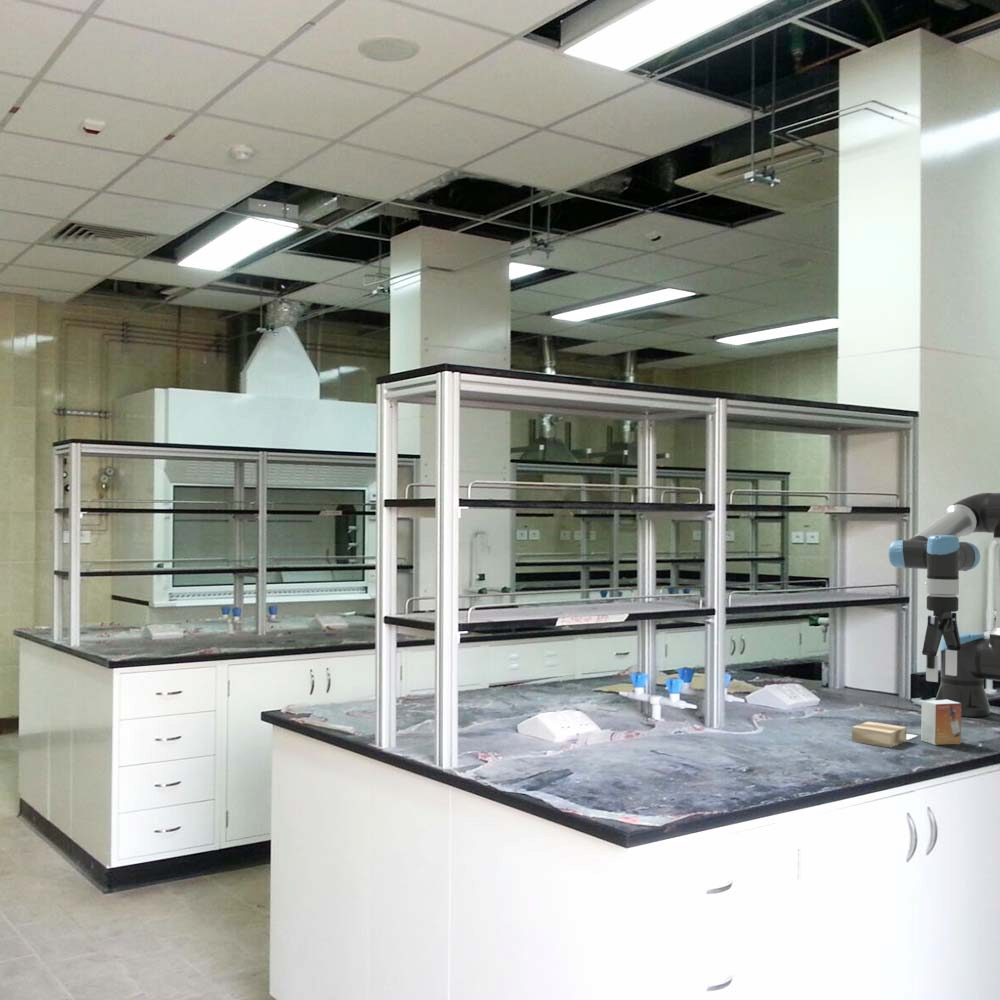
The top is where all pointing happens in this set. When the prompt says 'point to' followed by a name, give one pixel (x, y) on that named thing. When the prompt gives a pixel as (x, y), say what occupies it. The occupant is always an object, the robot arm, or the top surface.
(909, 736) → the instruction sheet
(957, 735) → the small box
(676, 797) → the top surface
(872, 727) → the base block
